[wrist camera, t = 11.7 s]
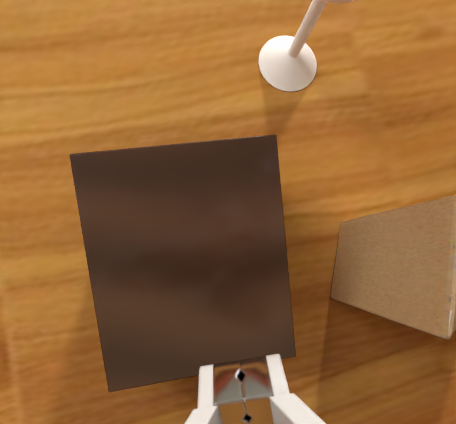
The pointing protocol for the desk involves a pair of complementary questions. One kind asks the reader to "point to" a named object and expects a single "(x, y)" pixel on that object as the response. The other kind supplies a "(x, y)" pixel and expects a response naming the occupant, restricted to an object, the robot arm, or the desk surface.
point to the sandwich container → (401, 265)
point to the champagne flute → (293, 54)
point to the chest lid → (185, 256)
